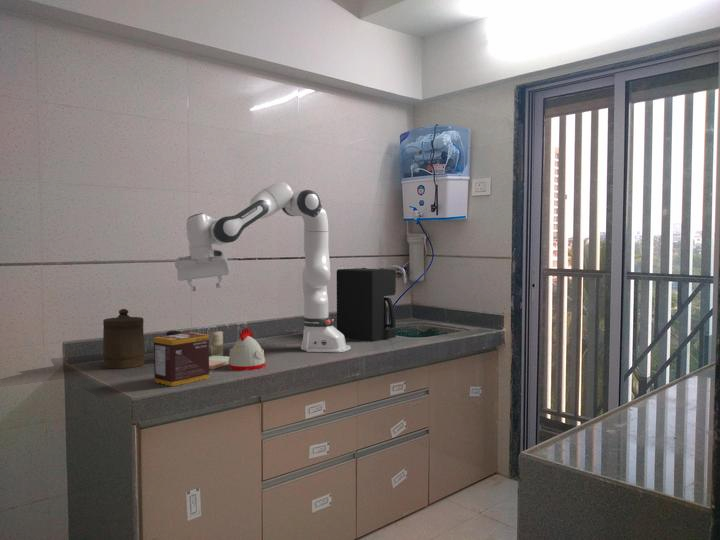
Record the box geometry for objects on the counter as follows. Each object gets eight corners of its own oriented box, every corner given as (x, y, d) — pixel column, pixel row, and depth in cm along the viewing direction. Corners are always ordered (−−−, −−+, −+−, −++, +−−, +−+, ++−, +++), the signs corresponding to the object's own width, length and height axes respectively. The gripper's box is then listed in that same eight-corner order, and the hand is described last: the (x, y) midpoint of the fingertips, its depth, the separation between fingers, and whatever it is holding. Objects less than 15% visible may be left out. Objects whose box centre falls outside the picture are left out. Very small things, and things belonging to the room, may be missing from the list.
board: (238, 360, 231) (238, 357, 231) (213, 369, 214) (213, 365, 214) (213, 358, 235) (213, 355, 235) (186, 367, 218) (186, 363, 218)
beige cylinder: (225, 354, 242) (225, 331, 242) (218, 356, 238) (218, 333, 237) (215, 354, 244) (215, 331, 244) (208, 356, 239) (208, 332, 239)
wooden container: (139, 359, 232) (138, 306, 232) (148, 365, 220) (147, 309, 219) (100, 363, 224) (99, 308, 223) (107, 370, 212) (106, 312, 211)
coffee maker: (403, 337, 286) (403, 268, 285) (378, 342, 272) (378, 270, 270) (361, 332, 305) (361, 267, 303) (336, 336, 290) (336, 268, 289)
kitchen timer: (221, 369, 214) (220, 329, 213) (241, 362, 227) (240, 325, 226) (253, 371, 209) (252, 331, 209) (271, 364, 222) (271, 326, 221)
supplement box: (210, 378, 199) (209, 334, 198) (171, 387, 186) (170, 340, 186) (192, 374, 205) (191, 331, 204) (153, 382, 193) (153, 337, 192)
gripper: (174, 257, 217) (179, 292, 217) (228, 251, 225) (232, 285, 225) (173, 258, 223) (178, 293, 223) (225, 252, 230) (230, 286, 230)
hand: (206, 289), depth 224 cm, fingers open, 8 cm apart
